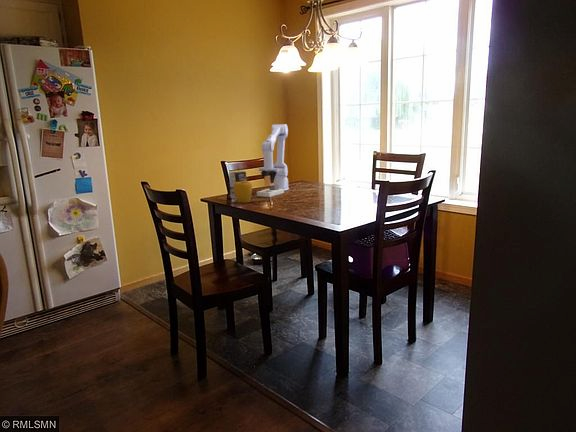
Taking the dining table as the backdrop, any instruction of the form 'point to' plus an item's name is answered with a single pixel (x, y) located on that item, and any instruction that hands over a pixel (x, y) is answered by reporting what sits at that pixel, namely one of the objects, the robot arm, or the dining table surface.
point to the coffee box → (236, 180)
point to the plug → (268, 181)
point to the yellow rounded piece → (243, 191)
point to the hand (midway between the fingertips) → (269, 182)
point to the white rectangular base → (270, 191)
